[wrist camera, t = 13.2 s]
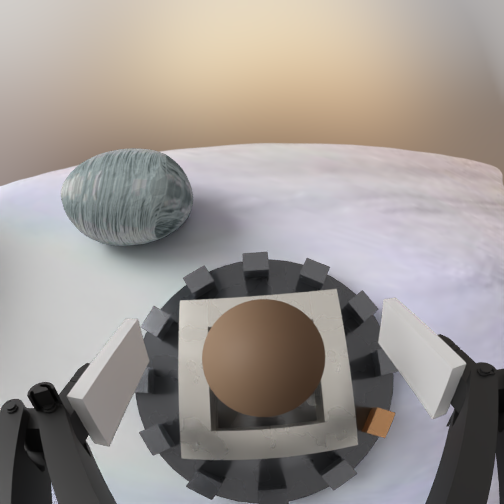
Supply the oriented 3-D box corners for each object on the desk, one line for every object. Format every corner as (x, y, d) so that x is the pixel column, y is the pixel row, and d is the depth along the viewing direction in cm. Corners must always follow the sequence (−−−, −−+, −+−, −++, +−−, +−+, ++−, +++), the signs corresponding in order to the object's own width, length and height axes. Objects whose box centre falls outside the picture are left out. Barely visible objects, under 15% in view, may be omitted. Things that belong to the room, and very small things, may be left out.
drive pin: (239, 409, 18) (204, 419, 8) (236, 356, 20) (201, 303, 10) (295, 404, 18) (331, 408, 8) (290, 352, 20) (316, 293, 10)
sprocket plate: (145, 492, 15) (124, 505, 12) (147, 272, 25) (130, 250, 22) (397, 473, 15) (420, 482, 12) (363, 256, 25) (376, 232, 22)
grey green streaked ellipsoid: (214, 160, 28) (152, 115, 19) (203, 254, 27) (129, 242, 18) (122, 172, 33) (61, 147, 23) (110, 247, 32) (43, 237, 23)
